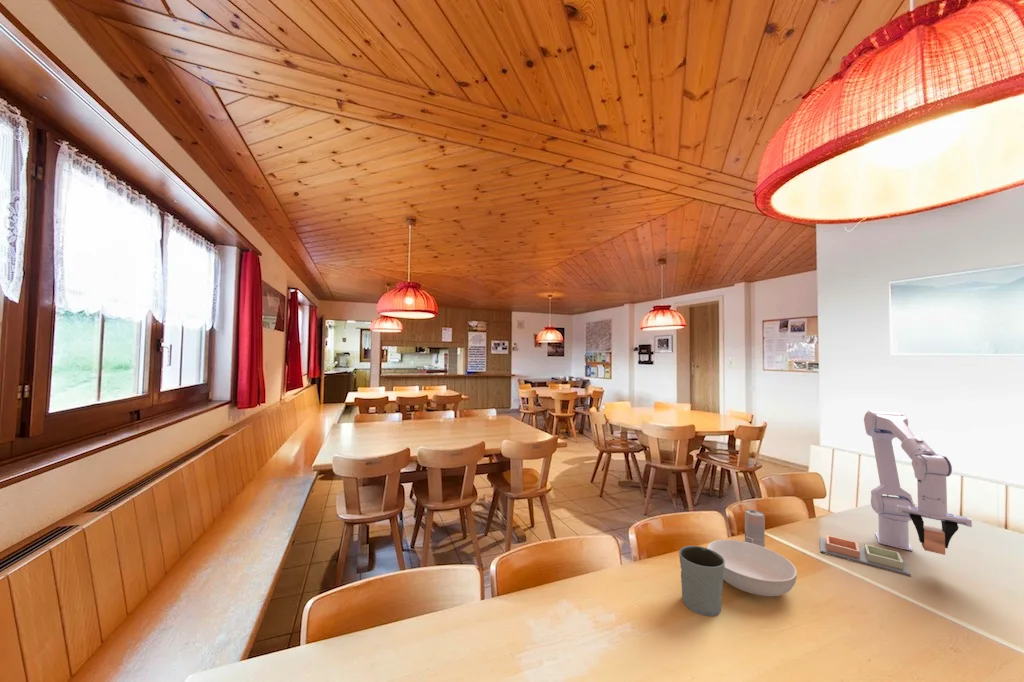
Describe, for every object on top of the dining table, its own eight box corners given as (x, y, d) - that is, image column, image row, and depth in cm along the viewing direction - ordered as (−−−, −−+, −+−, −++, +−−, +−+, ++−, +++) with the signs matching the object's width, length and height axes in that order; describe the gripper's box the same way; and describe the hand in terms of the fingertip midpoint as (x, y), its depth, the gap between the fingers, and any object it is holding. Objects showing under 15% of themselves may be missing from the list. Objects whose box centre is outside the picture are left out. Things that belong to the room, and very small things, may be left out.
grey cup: (720, 597, 96) (720, 549, 97) (729, 624, 87) (729, 570, 87) (677, 589, 99) (677, 542, 100) (680, 613, 90) (681, 561, 90)
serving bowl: (697, 584, 102) (697, 558, 102) (716, 555, 118) (716, 532, 118) (793, 621, 88) (793, 590, 88) (800, 582, 104) (799, 556, 104)
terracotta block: (921, 545, 113) (921, 524, 113) (941, 549, 110) (941, 528, 110) (924, 550, 109) (924, 529, 110) (945, 555, 107) (944, 533, 107)
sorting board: (820, 538, 130) (819, 531, 130) (902, 559, 118) (902, 550, 118) (820, 552, 121) (820, 544, 121) (910, 576, 108) (910, 566, 108)
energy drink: (758, 547, 123) (758, 509, 124) (768, 555, 118) (768, 516, 118) (741, 546, 124) (741, 508, 124) (750, 554, 118) (750, 515, 119)
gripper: (899, 494, 112) (900, 541, 111) (974, 507, 103) (976, 558, 102) (895, 488, 117) (895, 532, 117) (966, 500, 108) (967, 548, 108)
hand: (933, 544), depth 110 cm, fingers closed on terracotta block, 4 cm apart
